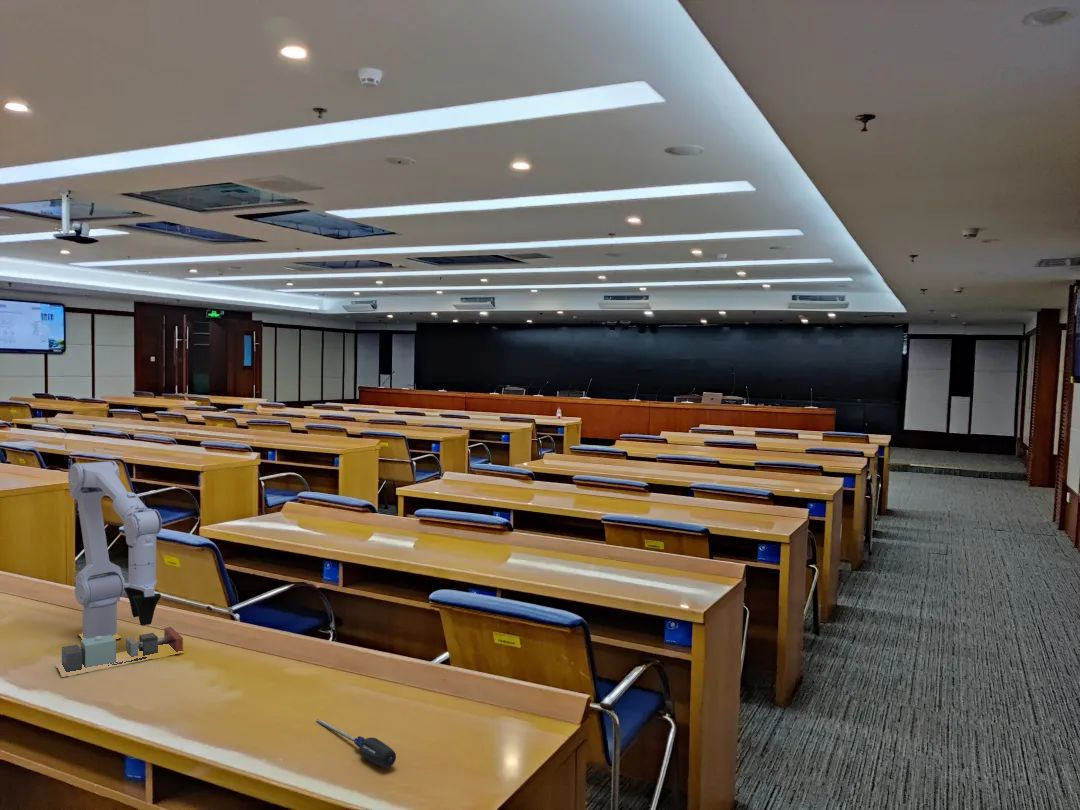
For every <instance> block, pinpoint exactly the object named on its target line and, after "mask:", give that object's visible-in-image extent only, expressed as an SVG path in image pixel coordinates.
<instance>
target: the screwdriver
mask: <svg viewBox="0 0 1080 810" xmlns="http://www.w3.org/2000/svg"><path fill="white" fill-rule="evenodd" d="M315 721H316V722H317V723H318V725H319V724H320V725H322V726H324V727H326V728H327V729H329V730H331V731H333V732H334V733H337V734H338V735H340V736H343V737H345V738H346V739H348V740H350V741H351V742H353V743H354V744H355V746H356V747H357V748H359V753H360V754H361V756H362V757H363V759H364V760H365V761H368V762H370V763H372V764H373V765H376V766H379V767H382V768H385V769H387V768H390V767H392V766H393V765H394V763H395V762H396V759H397V753H396V752H395V751H394V750H393V749H392V748H391V747H390V745H387V744H386V743H384V742H382V741H381V740H380V739H378V738H376V737H367V738H364V737H363V736H361V735H359V736H357V737H355V736H352V735H351V734H349V733H347V732H345V731H343V730H341V729H339V728H337V727H335V726H333V725H331V724H330V723H328V722H325V721H324V720H322V719H320V718H316V720H315Z"/></svg>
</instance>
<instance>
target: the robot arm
mask: <svg viewBox="0 0 1080 810" xmlns="http://www.w3.org/2000/svg"><path fill="white" fill-rule="evenodd" d="M120 472H121V471H120V467H119V465H118V464H117V462H115V460H109V461H98V462H97V461H95V462H82V463H80V462H74V463H73V464H72V465H71V466H70V468H69V471H68V473H67V474H68V475H67V481H68V487H69V488H68V489H69V493H70V497H71V498H72V499H74V500H76V501H77V508H78V514H79V520H80V521H79V522H80V528H81V536H82V543H83V548H84V549H83V550H84V557H85V563H86V564H85V566H84V567H83V568H82V569H81V570H80V571H79V572H78V573H77V574H76V576H75V578H74V580H75V588H74V595H75V599H76V601H77V603H78V604H79V605H81V606H83V607H82V620H81V621H82V629H81V632H82V631H83V637H84V638H86V639H89V638H95V637H96V636H106V635H112V636H113V635H115V634H116V633H117V632H118V628H117V627H118V602H120V601H121V598H122V597H123V596H124V595H125V593H126V596H127V597H128V602H129V605H130V609H131V614H132V617H133V618H138V621H139V624H140V626H142V627H143V626H148V625H151V624H152V622H153V620H154V619H153V618H154V614H155V610H156V608H157V605H158V602H159V601H160V599H161V597H162V595H161V594H160V593H159V592H158V593H155V587H156V586H157V584H158V580H157V535H158V534H159V533H160V532H161V530H162V527H163V520H162V516H161V514H160V512H159V511H158V510H157V509H152V508H148V507H147V506H146V505H145V504H144V502H143V501H142V500H141V499H140V497H139V496H138V495H137V494H136V493H135V492H131V491H128V490H127V488H126V487H125V485H124V484H123V482H122V481H121V479H120V475H121V473H120ZM105 496H108V497H109V498H110V499H111V500H112V501H113V502H112V504H111V505H112V506H111V507H112V510H113V511H114V512H115V513H116V514H117V515H118V517H119V519H120V520H121V521H122V522H123V531H124V534H125V542H126V545H128V580H127V582H126V579H125V576H123V573H122V568H121V566H119V565H116V564H115V563H113V562H111V561H110V556H109V555H110V554H109V549H108V543H107V536H106V528H105V522H104V515H103V510H102V509H103V508H102V502H101V501H102V498H103V497H105ZM90 577H91V578H90Z"/></svg>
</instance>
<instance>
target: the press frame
mask: <svg viewBox="0 0 1080 810" xmlns="http://www.w3.org/2000/svg"><path fill="white" fill-rule="evenodd" d="M158 638H159V637H158V636H157V635H156V634H155V633H154V632H149V633H145V634H140V635H139V639H138V640H139V641H138V642H142V641H143V648H142V649H139V651H143V656H145V655H150V654H154V653H158ZM146 658H147V657H142V658H139V659H138V658H136V659H134V660H131V661H126V662H132V661H138V660H142V659H146ZM126 662H124V663H126ZM61 663H62V665H63V667H64V669H65V671H66V672H70V671H76V670H81V669H82V650H81V646H79V644H78V643H77V644H71V645H66V646H61ZM115 663H117V664H122V663H123V661H122V662H119V663H118V662H115ZM110 664H112V663H110ZM117 664H114V663H113V664H112V665H117ZM108 666H109V665H108Z"/></svg>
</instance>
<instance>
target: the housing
mask: <svg viewBox="0 0 1080 810" xmlns="http://www.w3.org/2000/svg"><path fill="white" fill-rule="evenodd" d="M80 649H81V650H82V664H83V665H84V667H85V668H87V667H92V666H98V665H103V664H109V663H114V662H116V653H117V640H115V639H114V638H113V637H112V635H106V636H96V637H95V638H89V639H84V640H81V639H80Z"/></svg>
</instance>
